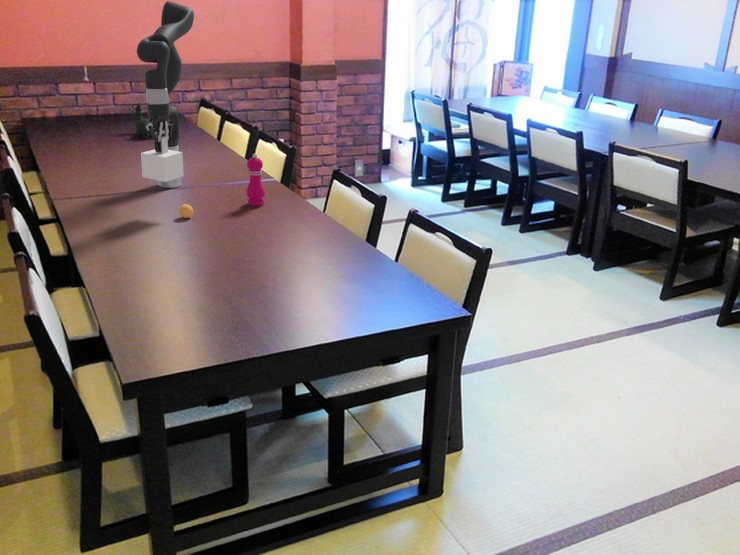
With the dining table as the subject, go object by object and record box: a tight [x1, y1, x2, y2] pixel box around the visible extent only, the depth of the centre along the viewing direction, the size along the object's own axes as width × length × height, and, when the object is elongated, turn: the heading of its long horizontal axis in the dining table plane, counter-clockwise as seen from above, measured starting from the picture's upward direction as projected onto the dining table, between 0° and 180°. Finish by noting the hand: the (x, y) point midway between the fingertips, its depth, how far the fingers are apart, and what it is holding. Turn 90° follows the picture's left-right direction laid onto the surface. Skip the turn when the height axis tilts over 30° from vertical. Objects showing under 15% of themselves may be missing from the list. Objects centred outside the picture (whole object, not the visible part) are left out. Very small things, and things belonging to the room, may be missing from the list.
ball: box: [178, 203, 194, 219], centre depth 249 cm, size 5×5×5 cm
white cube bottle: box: [140, 136, 185, 182], centre depth 244 cm, size 10×10×14 cm
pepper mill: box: [246, 153, 266, 207], centre depth 266 cm, size 7×7×20 cm
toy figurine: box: [134, 102, 149, 140], centre depth 381 cm, size 9×19×25 cm
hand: (161, 150), depth 243 cm, fingers closed on white cube bottle, 3 cm apart
